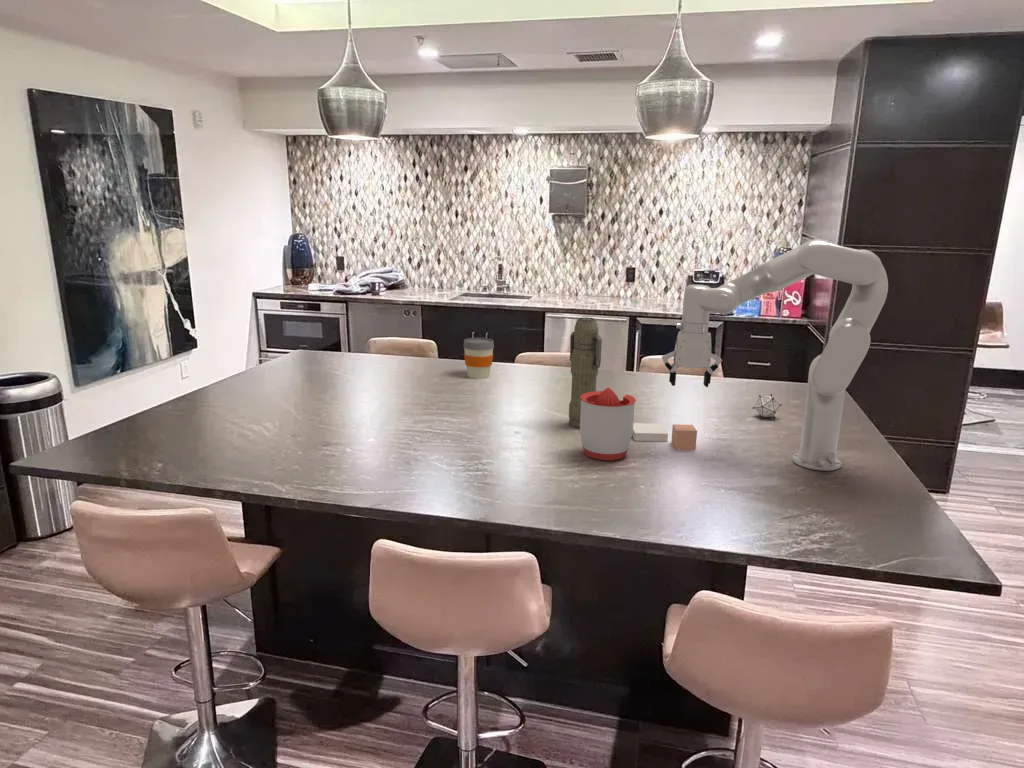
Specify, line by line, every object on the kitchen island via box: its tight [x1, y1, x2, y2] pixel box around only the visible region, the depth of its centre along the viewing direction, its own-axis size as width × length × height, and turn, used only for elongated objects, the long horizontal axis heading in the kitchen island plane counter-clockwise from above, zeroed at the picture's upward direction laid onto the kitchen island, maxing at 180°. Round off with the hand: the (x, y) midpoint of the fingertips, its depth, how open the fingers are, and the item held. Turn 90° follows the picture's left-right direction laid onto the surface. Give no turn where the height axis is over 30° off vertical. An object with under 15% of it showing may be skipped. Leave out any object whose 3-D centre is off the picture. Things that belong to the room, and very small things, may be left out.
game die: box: [751, 393, 783, 420], centre depth 242 cm, size 9×8×10 cm
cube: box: [670, 423, 698, 451], centre depth 212 cm, size 6×6×6 cm
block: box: [632, 422, 669, 443], centre depth 222 cm, size 10×10×2 cm
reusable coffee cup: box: [463, 337, 495, 380], centre depth 292 cm, size 12×13×15 cm
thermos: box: [568, 317, 603, 430], centre depth 228 cm, size 9×12×35 cm
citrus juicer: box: [579, 387, 637, 462], centre depth 203 cm, size 16×17×20 cm
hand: (689, 385), depth 209 cm, fingers open, 9 cm apart
